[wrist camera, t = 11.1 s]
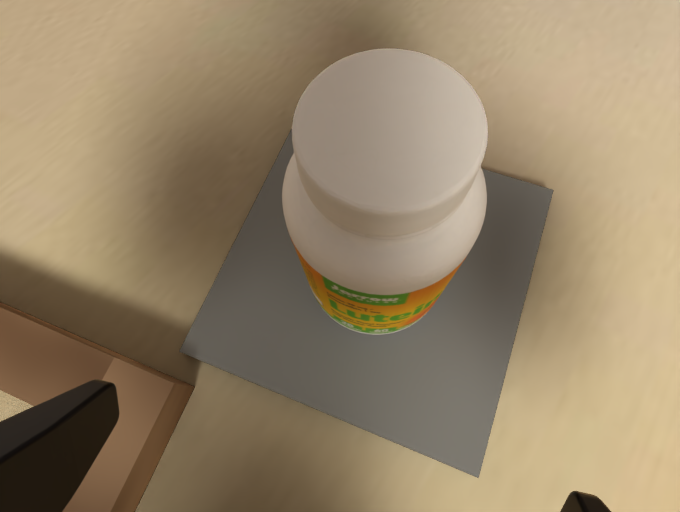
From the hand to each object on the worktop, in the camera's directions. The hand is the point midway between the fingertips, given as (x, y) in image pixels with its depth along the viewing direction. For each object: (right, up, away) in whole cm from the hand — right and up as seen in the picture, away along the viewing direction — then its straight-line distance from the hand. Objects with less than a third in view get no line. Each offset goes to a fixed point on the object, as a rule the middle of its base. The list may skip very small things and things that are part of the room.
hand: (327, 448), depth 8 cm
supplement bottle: (+2, +3, +10) cm, 10 cm away
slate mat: (+2, +3, +10) cm, 11 cm away
